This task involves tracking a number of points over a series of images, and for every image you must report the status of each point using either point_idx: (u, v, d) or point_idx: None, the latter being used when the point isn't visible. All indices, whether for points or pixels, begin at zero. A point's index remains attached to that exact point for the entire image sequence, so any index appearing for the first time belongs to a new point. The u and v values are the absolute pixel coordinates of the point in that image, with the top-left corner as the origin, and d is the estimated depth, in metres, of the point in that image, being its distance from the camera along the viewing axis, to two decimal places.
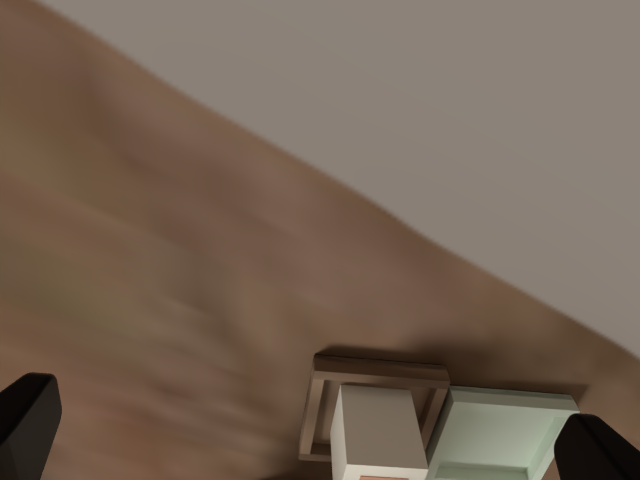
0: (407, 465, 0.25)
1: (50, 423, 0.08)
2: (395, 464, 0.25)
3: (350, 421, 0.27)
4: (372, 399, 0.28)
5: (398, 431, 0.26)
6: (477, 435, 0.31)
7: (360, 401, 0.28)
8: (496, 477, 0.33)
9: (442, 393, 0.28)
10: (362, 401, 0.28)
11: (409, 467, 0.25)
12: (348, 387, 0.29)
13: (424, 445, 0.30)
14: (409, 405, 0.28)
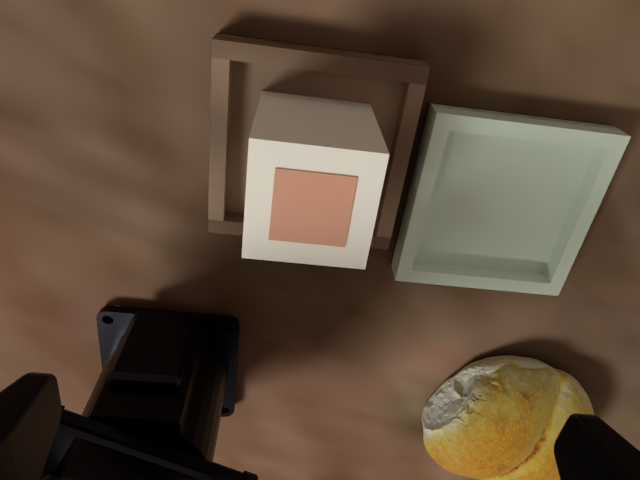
0: (354, 148, 0.15)
1: (50, 423, 0.08)
2: (333, 145, 0.15)
3: (268, 112, 0.16)
4: (308, 103, 0.18)
5: (345, 125, 0.16)
6: (474, 199, 0.21)
7: (289, 102, 0.18)
8: (502, 275, 0.22)
9: (418, 94, 0.18)
10: (292, 103, 0.18)
11: (356, 149, 0.15)
12: (273, 93, 0.18)
13: (394, 205, 0.20)
14: (366, 111, 0.18)
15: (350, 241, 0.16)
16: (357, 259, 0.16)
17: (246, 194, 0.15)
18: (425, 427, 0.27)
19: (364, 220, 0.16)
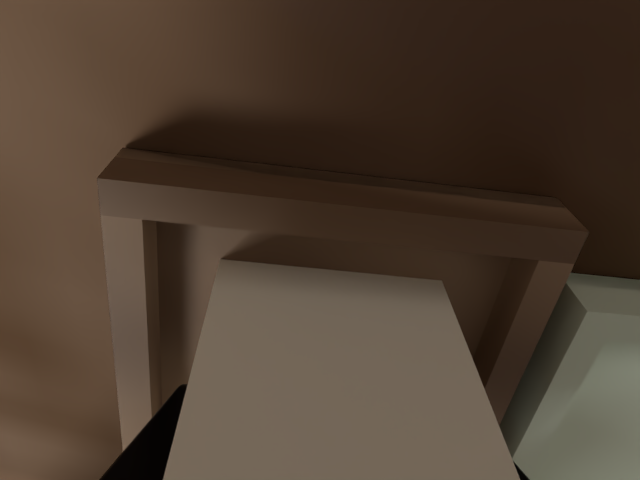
0: None
1: None
2: None
3: (222, 363, 0.07)
4: (318, 298, 0.08)
5: (408, 399, 0.07)
6: (619, 423, 0.11)
7: (275, 303, 0.08)
8: None
9: (554, 280, 0.08)
10: (282, 303, 0.08)
11: None
12: (244, 266, 0.09)
13: None
14: (442, 318, 0.08)
15: None
16: None
17: None
18: None
19: None
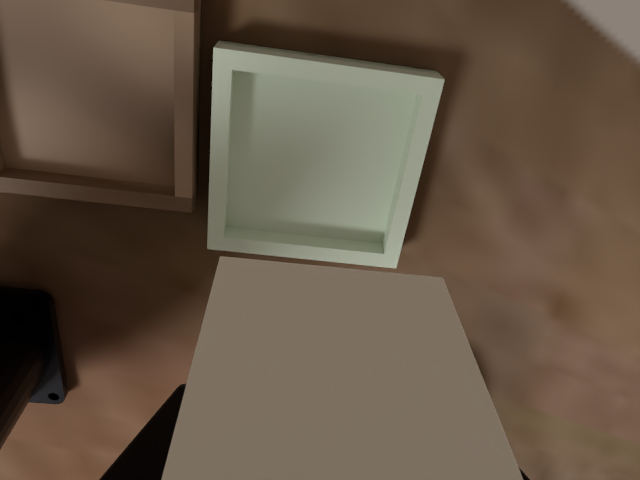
0: None
1: None
2: None
3: (223, 360, 0.07)
4: (318, 295, 0.08)
5: (409, 395, 0.07)
6: (287, 155, 0.19)
7: (275, 300, 0.08)
8: (331, 244, 0.20)
9: (186, 24, 0.15)
10: (283, 300, 0.08)
11: None
12: (243, 263, 0.09)
13: (188, 160, 0.18)
14: (443, 315, 0.08)
15: None
16: None
17: None
18: None
19: None
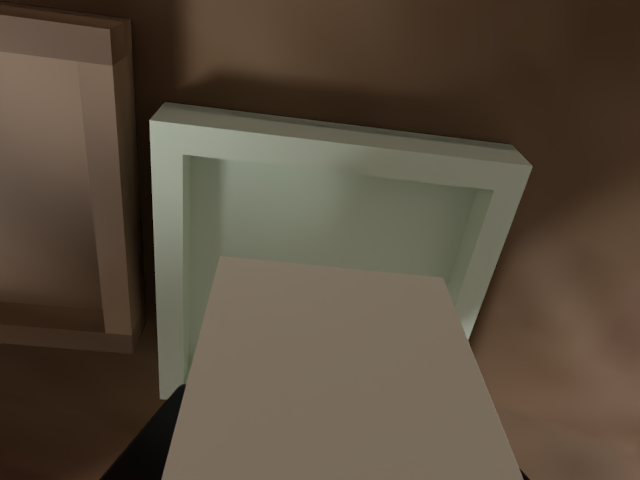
0: None
1: None
2: None
3: (222, 360, 0.07)
4: (318, 294, 0.08)
5: (409, 396, 0.07)
6: None
7: (276, 300, 0.08)
8: None
9: (101, 83, 0.09)
10: (283, 300, 0.08)
11: None
12: (244, 263, 0.09)
13: (121, 284, 0.11)
14: (442, 315, 0.08)
15: None
16: None
17: None
18: None
19: None
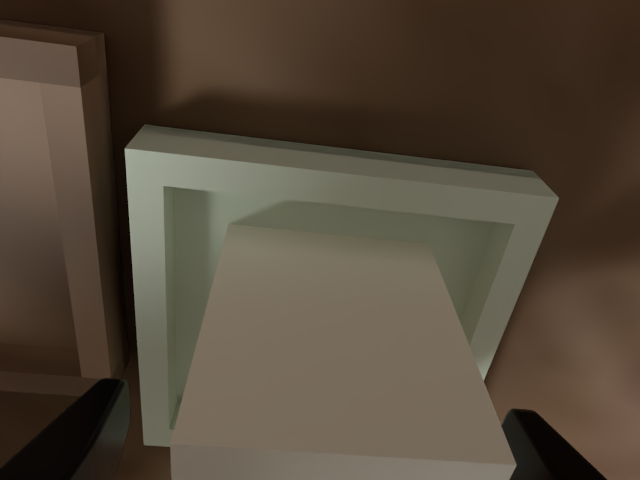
0: (432, 447, 0.06)
1: (122, 428, 0.08)
2: (379, 445, 0.06)
3: (232, 305, 0.08)
4: (316, 255, 0.09)
5: (395, 335, 0.08)
6: None
7: (278, 259, 0.09)
8: None
9: (68, 107, 0.08)
10: (285, 259, 0.09)
11: (437, 454, 0.06)
12: (250, 229, 0.10)
13: (98, 326, 0.10)
14: (427, 274, 0.09)
15: None
16: None
17: None
18: None
19: None
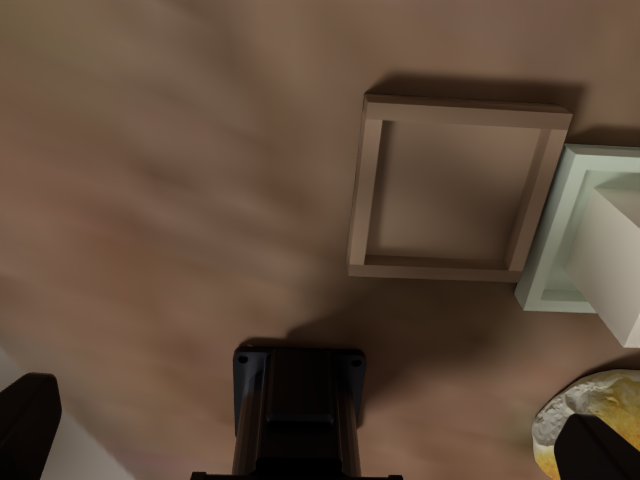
0: None
1: (50, 423, 0.08)
2: None
3: (636, 217, 0.19)
4: None
5: None
6: None
7: (632, 200, 0.20)
8: None
9: (559, 138, 0.19)
10: (635, 200, 0.20)
11: None
12: (605, 189, 0.21)
13: (528, 241, 0.21)
14: None
15: None
16: None
17: None
18: (538, 443, 0.27)
19: None
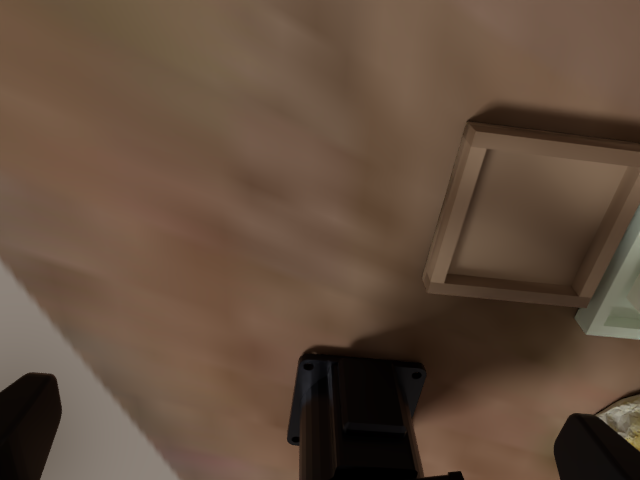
0: None
1: (50, 423, 0.08)
2: None
3: None
4: None
5: None
6: None
7: None
8: None
9: None
10: None
11: None
12: None
13: (601, 270, 0.22)
14: None
15: None
16: None
17: None
18: None
19: None
